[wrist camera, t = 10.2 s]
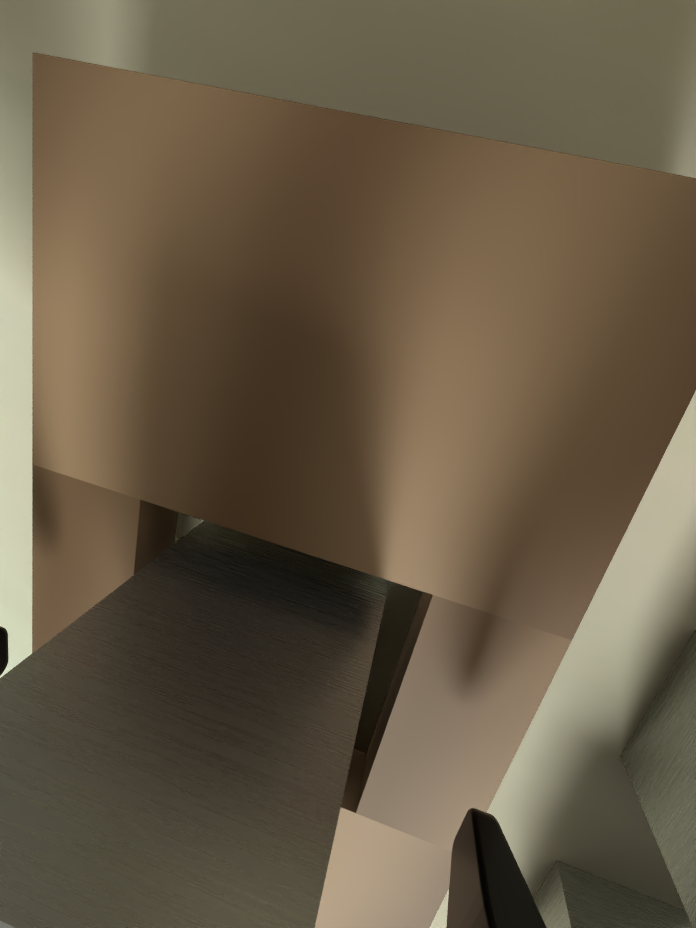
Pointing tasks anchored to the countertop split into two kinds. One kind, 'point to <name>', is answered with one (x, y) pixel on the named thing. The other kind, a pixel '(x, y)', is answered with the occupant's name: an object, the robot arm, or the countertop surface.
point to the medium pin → (600, 903)
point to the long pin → (187, 742)
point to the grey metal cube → (670, 773)
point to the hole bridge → (355, 398)
